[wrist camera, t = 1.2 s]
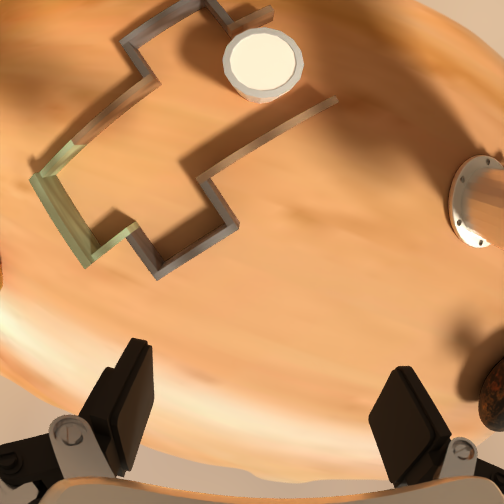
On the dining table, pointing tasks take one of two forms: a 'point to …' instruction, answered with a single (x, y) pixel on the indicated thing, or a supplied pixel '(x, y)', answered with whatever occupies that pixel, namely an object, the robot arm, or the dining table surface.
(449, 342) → the dining table surface
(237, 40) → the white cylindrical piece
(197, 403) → the dining table surface
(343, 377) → the dining table surface
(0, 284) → the potato
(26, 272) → the dining table surface
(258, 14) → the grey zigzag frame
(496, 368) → the glass bottle
